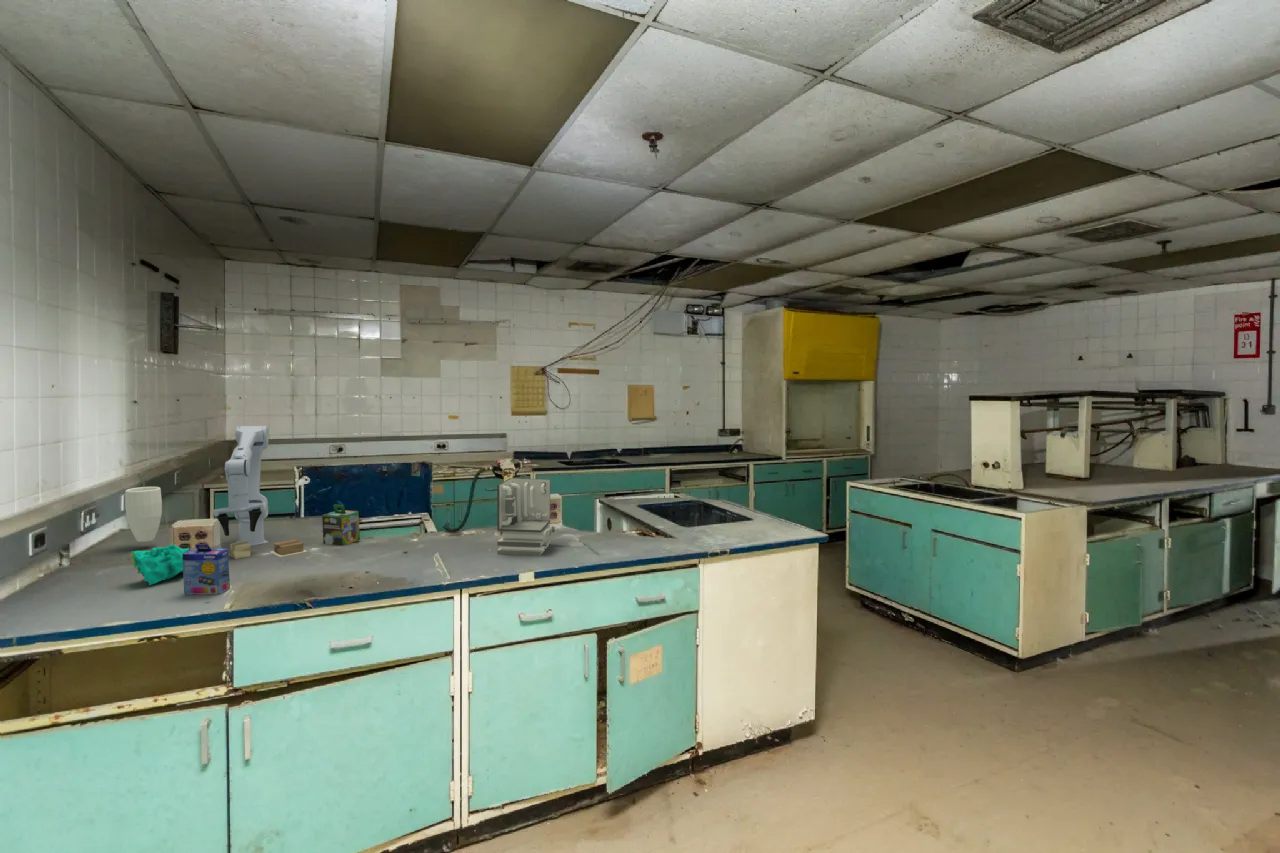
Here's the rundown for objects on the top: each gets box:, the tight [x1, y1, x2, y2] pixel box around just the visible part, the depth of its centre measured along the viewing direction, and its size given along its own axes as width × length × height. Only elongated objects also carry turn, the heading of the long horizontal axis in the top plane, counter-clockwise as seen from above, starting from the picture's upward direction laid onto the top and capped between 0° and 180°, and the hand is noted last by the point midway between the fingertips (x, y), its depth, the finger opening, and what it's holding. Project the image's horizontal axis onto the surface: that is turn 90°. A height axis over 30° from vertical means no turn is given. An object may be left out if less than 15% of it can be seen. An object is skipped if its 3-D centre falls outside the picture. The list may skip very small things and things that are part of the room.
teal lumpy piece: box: [130, 544, 190, 586], centre depth 182 cm, size 15×12×13 cm
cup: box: [124, 486, 163, 543], centre depth 214 cm, size 10×10×22 cm
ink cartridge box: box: [182, 543, 231, 595], centre depth 172 cm, size 10×6×14 cm, turn 95°
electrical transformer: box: [496, 477, 558, 557], centre depth 221 cm, size 16×19×25 cm
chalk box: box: [321, 504, 361, 546], centre depth 225 cm, size 9×9×15 cm
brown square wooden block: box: [273, 539, 305, 556], centre depth 212 cm, size 7×7×3 cm
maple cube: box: [229, 541, 251, 560], centre depth 206 cm, size 4×4×4 cm
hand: (239, 533), depth 205 cm, fingers open, 7 cm apart
